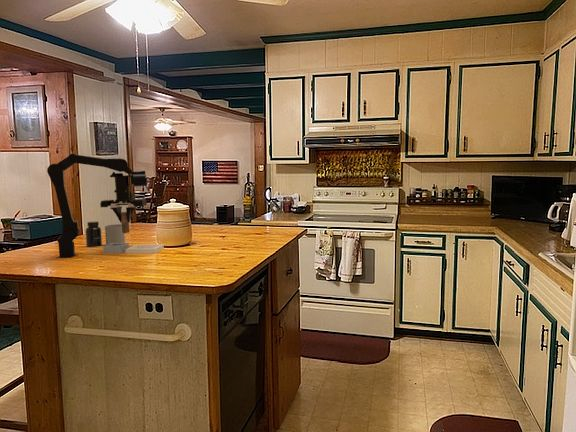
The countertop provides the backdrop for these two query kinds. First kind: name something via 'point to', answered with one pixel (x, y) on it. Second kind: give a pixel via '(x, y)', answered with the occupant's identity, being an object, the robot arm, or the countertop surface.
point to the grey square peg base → (115, 247)
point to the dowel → (124, 222)
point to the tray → (145, 248)
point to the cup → (114, 234)
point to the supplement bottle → (93, 234)
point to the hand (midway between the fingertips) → (125, 222)
